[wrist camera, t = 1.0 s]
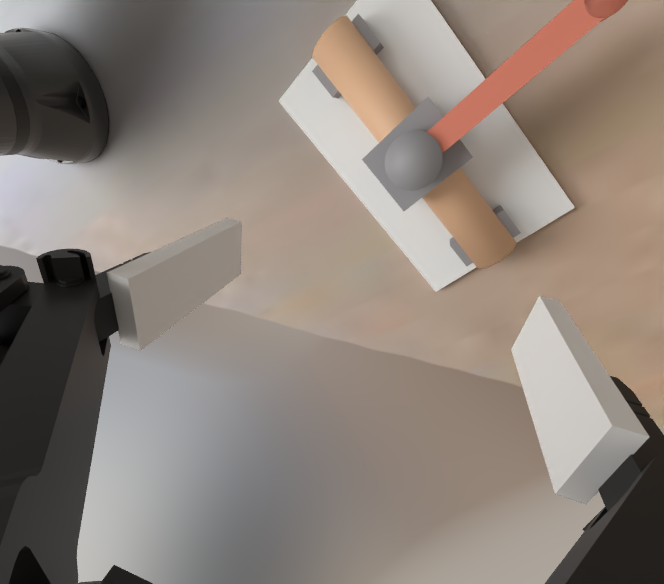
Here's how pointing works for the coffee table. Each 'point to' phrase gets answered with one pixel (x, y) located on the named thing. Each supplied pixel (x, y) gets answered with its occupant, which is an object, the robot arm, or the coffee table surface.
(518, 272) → the coffee table surface
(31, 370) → the robot arm
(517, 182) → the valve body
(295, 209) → the coffee table surface
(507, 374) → the coffee table surface
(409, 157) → the lever
